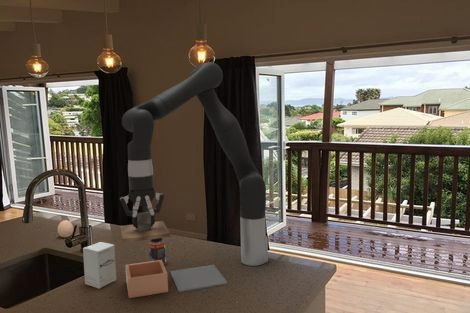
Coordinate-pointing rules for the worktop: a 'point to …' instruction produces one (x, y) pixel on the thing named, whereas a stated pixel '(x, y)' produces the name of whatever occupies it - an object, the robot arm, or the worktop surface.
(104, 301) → the worktop surface
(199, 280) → the mat
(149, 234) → the lid
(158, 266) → the open cardboard tray
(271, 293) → the worktop surface
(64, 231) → the egg
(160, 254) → the supplement bottle
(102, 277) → the supplement box
